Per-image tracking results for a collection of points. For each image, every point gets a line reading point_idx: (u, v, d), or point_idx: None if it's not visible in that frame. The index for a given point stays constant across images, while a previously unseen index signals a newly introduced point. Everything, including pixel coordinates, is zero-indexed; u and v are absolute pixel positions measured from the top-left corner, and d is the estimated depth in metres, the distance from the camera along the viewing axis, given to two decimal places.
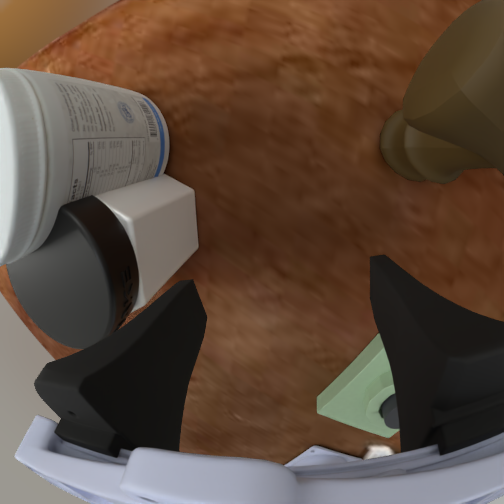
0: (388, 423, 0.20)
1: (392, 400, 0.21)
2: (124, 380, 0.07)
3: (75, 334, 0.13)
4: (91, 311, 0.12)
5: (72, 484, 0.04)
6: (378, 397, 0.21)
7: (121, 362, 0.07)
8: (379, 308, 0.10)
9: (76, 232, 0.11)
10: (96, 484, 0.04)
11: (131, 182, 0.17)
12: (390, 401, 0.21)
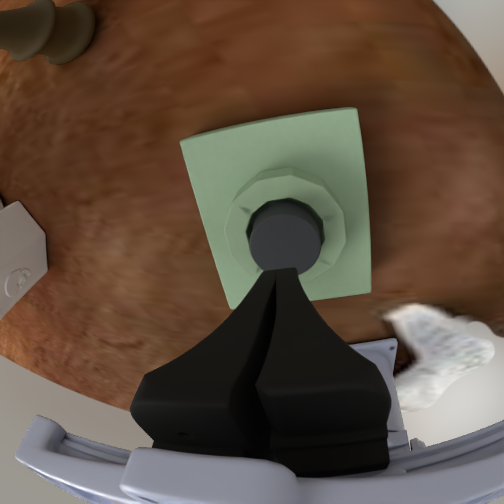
0: None
1: None
2: (252, 385, 0.06)
3: None
4: None
5: (72, 484, 0.04)
6: (233, 244, 0.17)
7: (250, 363, 0.06)
8: None
9: None
10: (96, 484, 0.04)
11: None
12: None
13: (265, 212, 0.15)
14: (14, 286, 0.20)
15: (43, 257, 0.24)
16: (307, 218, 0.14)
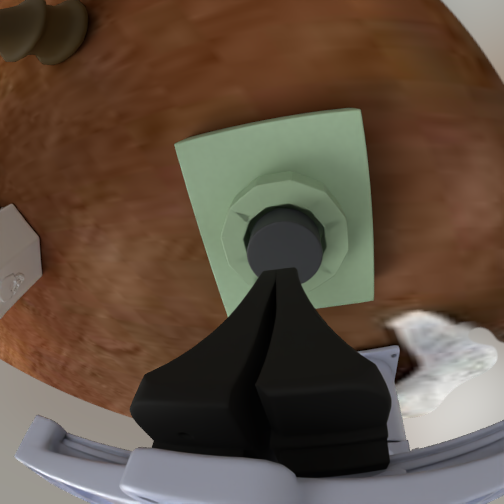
0: None
1: None
2: (252, 385, 0.06)
3: None
4: None
5: (72, 484, 0.04)
6: (230, 252, 0.16)
7: (250, 363, 0.06)
8: None
9: None
10: (96, 484, 0.04)
11: None
12: None
13: (264, 219, 0.14)
14: (8, 291, 0.19)
15: (38, 261, 0.23)
16: (308, 226, 0.14)
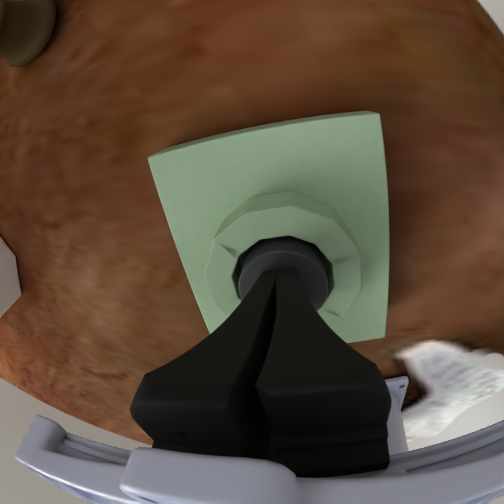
0: None
1: None
2: (252, 384, 0.06)
3: None
4: None
5: (72, 484, 0.04)
6: (216, 291, 0.13)
7: (250, 363, 0.06)
8: None
9: None
10: (96, 484, 0.04)
11: None
12: None
13: (259, 246, 0.12)
14: None
15: (15, 281, 0.20)
16: (311, 256, 0.11)
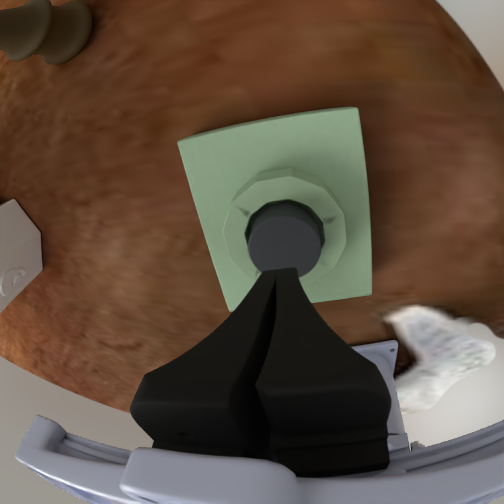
0: None
1: None
2: (252, 385, 0.06)
3: None
4: None
5: (72, 484, 0.04)
6: (232, 246, 0.17)
7: (250, 363, 0.06)
8: None
9: None
10: (96, 484, 0.04)
11: None
12: None
13: (264, 214, 0.15)
14: (9, 285, 0.19)
15: (38, 256, 0.23)
16: (307, 220, 0.14)
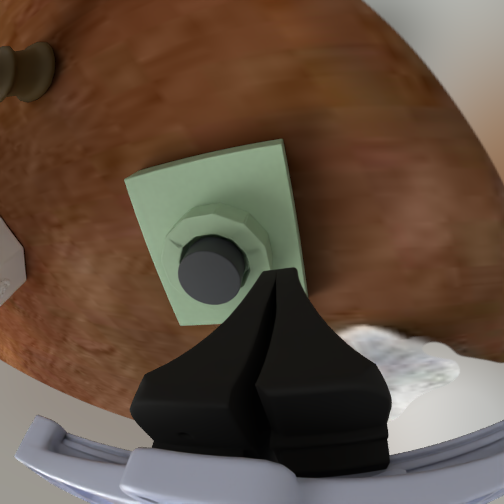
0: (201, 298, 0.17)
1: None
2: (252, 385, 0.06)
3: None
4: None
5: (72, 484, 0.04)
6: (170, 273, 0.18)
7: (250, 363, 0.06)
8: None
9: None
10: (96, 484, 0.04)
11: None
12: None
13: (191, 247, 0.17)
14: None
15: (22, 268, 0.25)
16: (225, 255, 0.16)
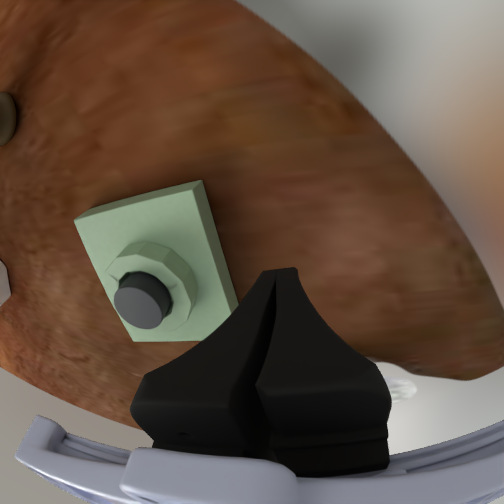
0: (135, 324, 0.19)
1: None
2: (252, 384, 0.06)
3: None
4: None
5: (72, 484, 0.04)
6: (113, 300, 0.20)
7: (250, 363, 0.06)
8: None
9: None
10: (96, 484, 0.04)
11: None
12: None
13: (123, 282, 0.19)
14: None
15: (6, 285, 0.27)
16: (147, 290, 0.18)
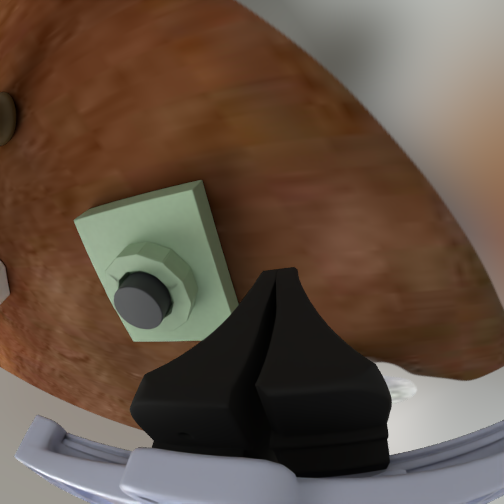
0: (135, 324, 0.19)
1: None
2: (252, 384, 0.06)
3: None
4: None
5: (72, 484, 0.04)
6: (113, 300, 0.20)
7: (250, 363, 0.06)
8: None
9: None
10: (96, 484, 0.04)
11: None
12: None
13: (123, 282, 0.19)
14: None
15: (5, 284, 0.27)
16: (147, 290, 0.18)
